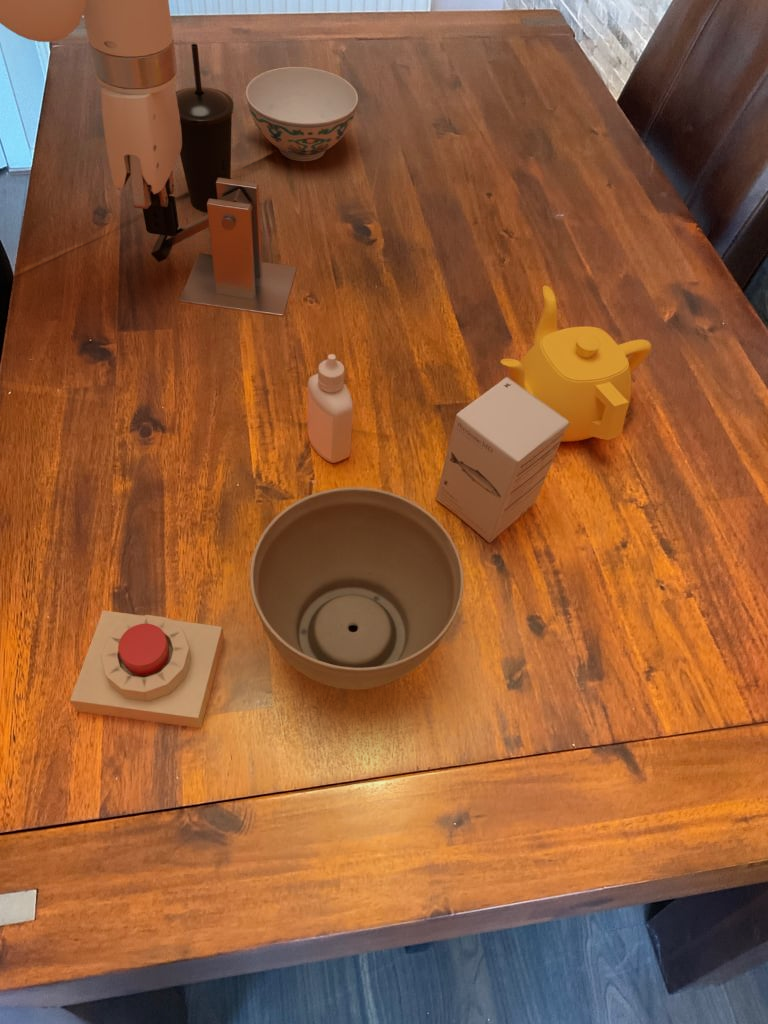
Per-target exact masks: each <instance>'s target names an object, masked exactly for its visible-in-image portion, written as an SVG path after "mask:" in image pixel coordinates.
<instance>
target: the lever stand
mask: <svg viewBox="0 0 768 1024" xmlns="http://www.w3.org/2000/svg"><path fill="white" fill-rule="evenodd" d="M259 187H260V186H259V182H254V181H247V180H238V179H225V178H218V179H217V181H216V189H217V199H218V200H216V199H209V200H208V202H207V210H208V213H207V214H208V220H209V228H208V229H209V237H210V239H209V240H210V247H211V254H209V253H202V252H198V253H197V256H196V259H195V261H194V264H193V266H192V268H191V270H190V273H189V276H188V278H187V280H186V283H185V286H184V288H183V290H182V293H181V295H180V297H179V300H178V302H179V303H182V304H183V303H184V304H189V305H190V304H191V305H197V306H205V307H210V308H211V307H212V308H219V309H225V310H233V311H239V312H240V311H241V312H247V313H253V314H254V313H255V314H260V315H261V314H262V315H268V316H275V317H284V316H285V313H286V309H287V305H288V303H289V299H290V295H291V291H292V289H293V284H294V281H295V277H296V274H297V270H298V267H297V265H296V266H294V265H289V264H281V263H273V262H266V261H263V256H262V233H261V229H262V228H261V211H260V190H259ZM238 189H240V190H241V191H242V192H243V194H244V195H245V196H246V198H247V199H248V200H249V202H250V203H251V204H245V203H238V202H231V201H224V200H219V199H220V198H222V197H224V196H226V195H228V194H230V193H232V192H234V191H236V190H238ZM251 205H252V206H253V208H252V211H251Z"/></svg>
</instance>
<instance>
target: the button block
mask: <svg viewBox="0 0 768 1024" xmlns="http://www.w3.org/2000/svg"><path fill="white" fill-rule="evenodd" d="M101 611H102V612H101V614H100V617H99V620H98V622H97V624H96V627H95V629H94V633H93V636H92V639H91V642H90V644H89V646H88V649H87V652H86V655H85V658H84V659H83V660H84V661H83V663H82V666H81V668H80V672H79V674H78V677H77V680H76V682H75V685H74V688H73V691H72V693H71V696H70V699H69V701H70V703H71V705H72V706H73V708H74V710H75V712H80V713H85V714H93V715H100V716H102V715H103V716H109V717H115V718H121V719H122V718H123V719H129V720H137V721H145V722H152V723H159V724H165V725H173V726H181V727H188V728H196V729H202V727H203V723H204V719H205V715H206V711H207V708H208V703H209V699H210V695H211V691H212V688H213V684H214V680H215V675H216V672H217V668H218V664H219V660H220V657H221V653H222V649H223V645H224V641H225V635H224V631H223V626H219V625H214V624H213V625H212V624H205V623H198V622H192V621H183V620H176V619H170V618H169V617H165V616H160V615H152V614H144V615H143V614H142V615H140V614H134V613H127V612H126V613H125V612H120V611H119V612H118V611H113V610H106V609H105V610H104V609H103V610H101ZM139 624H152V625H155V626H157V627H159V628H160V629H161V630H162V631H163V632H164V634H165V636H166V639H167V642H168V646H169V657H168V660H167V662H166V663H165V665H164V666H163V667H162V668H161V669H160V670H158V671H157V672H155V673H152V674H149V675H137V674H134V673H132V672H130V671H129V670H128V669H127V668H126V667H125V666H124V664H123V661H122V659H121V656H120V654H119V650H118V646H119V641H120V639H121V637H122V635H123V634H124V633H125V632H126V631H127V630H128V629H130V628H131V627H133V626H136V625H139Z"/></svg>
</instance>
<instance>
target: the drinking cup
mask: <svg viewBox="0 0 768 1024" xmlns="http://www.w3.org/2000/svg"><path fill="white" fill-rule="evenodd" d="M190 45H191V55H192V64H193V65H192V66H193V75H194V84H195V85H194V86H192V87H185V88H182V89H179V90H177V91H175V92H176V97H177V103H178V109H179V116H180V123H181V132H182V148H181V152H180V155H179V158H180V161H181V165H182V170H183V175H184V178H185V183H186V188H187V192H188V196H189V201H190V204H191V206H192V207H193V208H194V209H195V210H197V211H199V212H201V213H206V214H208V210H207V202H208V200H209V199H216V200H218V199H217V189H216V181H217V179H218V178H225V179H231V177H232V176H231V175H232V173H231V171H232V125H233V124H232V122H233V121H232V119H233V118H232V117H233V116H232V115H233V113H234V110H235V103H234V101H233V98H232V97H231V96H230V95H229V94H227V93H226V92H224V91H222V90H219V89H217V88H213V87H207V86H202V76H201V75H202V74H201V67H200V56H199V46H198V44H196V43H192V44H190Z"/></svg>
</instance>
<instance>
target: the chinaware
mask: <svg viewBox="0 0 768 1024" xmlns="http://www.w3.org/2000/svg"><path fill="white" fill-rule="evenodd" d="M245 98H246V102H247V106H248V109H249V112H250V115H251V117H252V120H253V122H254V123H255V126H256V127H257V129H258V130H259V132H260V133H261V134H262V135H263V136H264V138H266V140H267V141H268V142H269V143H271V144H272V145H274V146H275V147H276V148H278V150H279V153H280V154H281V155H282V156H284V157H285V158H287V159H289V160H292V161H297V162H312V161H315V160H318V159H320V158H321V157H323V156H324V155H325V153H326V151H327V150H329V149H330V148H332V147H334V146H335V145H336V144H337V143H338V142H339V141H340V140H342V138H343V137H344V136H345V135H346V133H347V132H348V131H349V128H350V126H351V125H352V122H353V120H354V117H355V115H356V110H357V108H358V103H359V95H358V93H357V90H356V89H355V87H354V85H352V84H351V82H349V81H348V80H346V79H345V78H343V77H341V76H340V75H337V74H335V73H332V72H331V71H330V72H329V71H327V70H323V69H320V68H314V67H305V66H287V67H278V68H274V69H270V70H267V71H264V72H262V73H260V74H258V75H256V76H254V78H252V79H251V80H250V81H249V83H248V84H247V86H246V89H245Z"/></svg>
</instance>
